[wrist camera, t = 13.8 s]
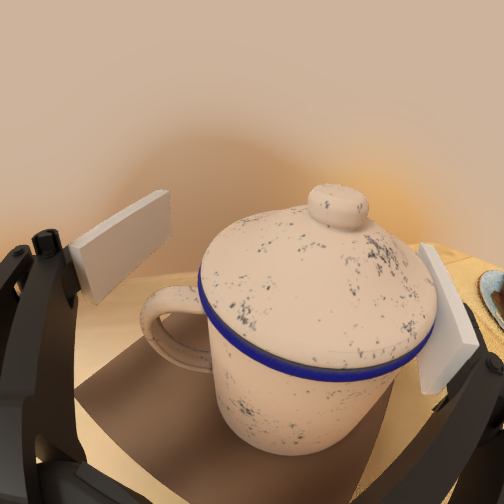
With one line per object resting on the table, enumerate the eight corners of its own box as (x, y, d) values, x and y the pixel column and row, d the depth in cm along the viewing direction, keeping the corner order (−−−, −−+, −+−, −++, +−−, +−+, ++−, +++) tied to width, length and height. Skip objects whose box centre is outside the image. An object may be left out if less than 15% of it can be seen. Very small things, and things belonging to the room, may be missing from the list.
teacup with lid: (348, 333, 18) (398, 171, 12) (378, 450, 11) (524, 277, 4) (178, 328, 18) (156, 154, 12) (148, 450, 10) (27, 258, 4)
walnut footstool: (118, 445, 17) (70, 392, 12) (222, 346, 29) (223, 273, 24) (278, 548, 11) (314, 559, 5) (355, 410, 23) (401, 348, 17)
